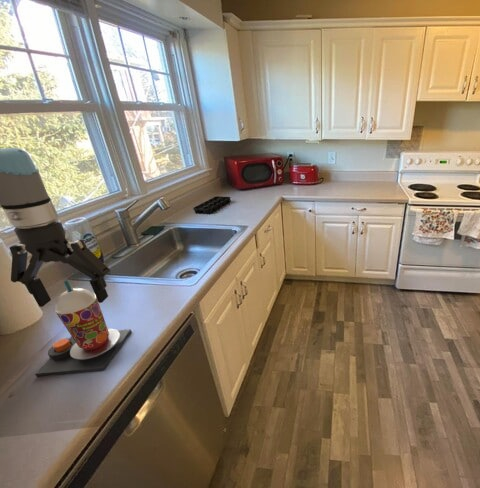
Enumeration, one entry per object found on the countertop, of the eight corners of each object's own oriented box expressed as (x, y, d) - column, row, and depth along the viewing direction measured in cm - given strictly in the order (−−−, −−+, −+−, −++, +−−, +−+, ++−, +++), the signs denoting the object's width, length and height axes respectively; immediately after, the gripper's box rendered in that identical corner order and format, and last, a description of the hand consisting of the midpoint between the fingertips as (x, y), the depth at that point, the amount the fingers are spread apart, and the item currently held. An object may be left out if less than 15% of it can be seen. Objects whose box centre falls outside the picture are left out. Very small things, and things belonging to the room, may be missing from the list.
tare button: (52, 352, 74) (49, 347, 74) (61, 343, 77) (58, 339, 77) (65, 351, 75) (62, 346, 74) (73, 342, 78) (71, 337, 77)
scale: (34, 377, 71) (28, 369, 69) (73, 337, 83) (68, 329, 82) (104, 370, 72) (100, 362, 71) (131, 332, 85) (128, 324, 83)
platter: (59, 361, 71) (59, 360, 71) (87, 331, 81) (87, 330, 81) (105, 357, 72) (105, 356, 72) (127, 328, 82) (127, 326, 82)
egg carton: (192, 214, 180) (190, 209, 178) (208, 201, 207) (207, 196, 205) (219, 214, 180) (218, 208, 178) (232, 200, 207) (231, 195, 205)
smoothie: (95, 356, 72) (63, 292, 64) (67, 352, 73) (32, 289, 65) (121, 333, 80) (95, 273, 71) (96, 330, 81) (67, 271, 72)
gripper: (-46, 232, 57) (6, 314, 66) (86, 226, 59) (119, 307, 68) (-10, 219, 63) (33, 295, 73) (107, 214, 66) (134, 289, 75)
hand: (74, 301), depth 70 cm, fingers open, 13 cm apart
